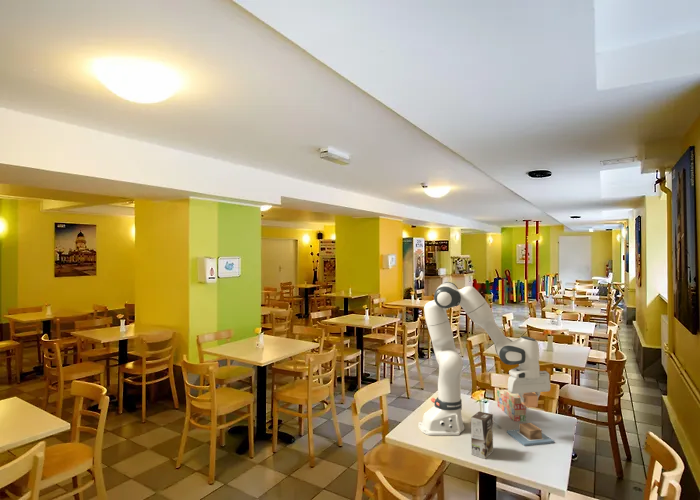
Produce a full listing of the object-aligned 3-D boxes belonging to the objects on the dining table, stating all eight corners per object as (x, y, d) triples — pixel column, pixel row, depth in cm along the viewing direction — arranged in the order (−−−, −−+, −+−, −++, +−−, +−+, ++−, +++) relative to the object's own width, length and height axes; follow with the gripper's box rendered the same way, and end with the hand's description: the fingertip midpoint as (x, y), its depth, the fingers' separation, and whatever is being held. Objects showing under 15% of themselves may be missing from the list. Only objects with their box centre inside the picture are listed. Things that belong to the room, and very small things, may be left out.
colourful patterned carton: (497, 406, 228) (496, 384, 228) (507, 405, 228) (507, 384, 228) (514, 421, 206) (514, 397, 206) (526, 421, 206) (526, 397, 207)
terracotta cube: (527, 407, 185) (527, 396, 185) (521, 403, 190) (521, 392, 190) (537, 406, 185) (537, 395, 186) (531, 402, 190) (530, 392, 190)
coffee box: (485, 459, 168) (485, 420, 168) (470, 454, 172) (470, 416, 172) (493, 451, 175) (493, 414, 175) (479, 446, 179) (479, 410, 179)
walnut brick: (530, 439, 183) (529, 431, 183) (519, 432, 191) (519, 423, 191) (541, 438, 184) (541, 429, 184) (530, 431, 192) (530, 422, 192)
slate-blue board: (524, 446, 179) (524, 443, 179) (506, 432, 193) (506, 430, 193) (554, 443, 182) (554, 440, 182) (534, 429, 196) (534, 427, 196)
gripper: (544, 368, 193) (544, 397, 193) (505, 371, 189) (505, 400, 189) (553, 372, 186) (553, 402, 186) (513, 374, 183) (513, 405, 183)
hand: (529, 401), depth 188 cm, fingers closed on terracotta cube, 5 cm apart
